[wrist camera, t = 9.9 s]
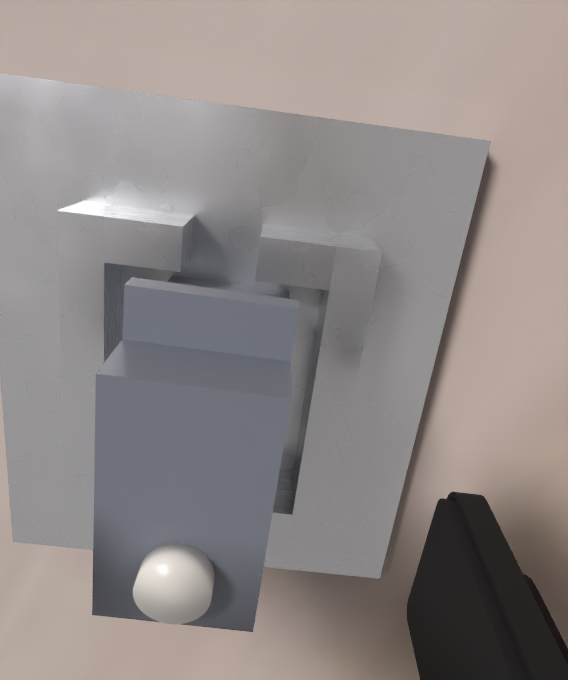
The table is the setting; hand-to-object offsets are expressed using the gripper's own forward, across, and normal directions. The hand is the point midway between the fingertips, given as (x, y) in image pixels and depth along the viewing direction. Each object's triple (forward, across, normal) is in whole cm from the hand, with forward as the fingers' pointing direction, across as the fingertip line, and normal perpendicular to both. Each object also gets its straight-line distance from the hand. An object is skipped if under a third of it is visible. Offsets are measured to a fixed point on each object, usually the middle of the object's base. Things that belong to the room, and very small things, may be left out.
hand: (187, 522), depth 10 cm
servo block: (+8, 0, +1) cm, 8 cm away
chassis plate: (+9, 0, +1) cm, 9 cm away
